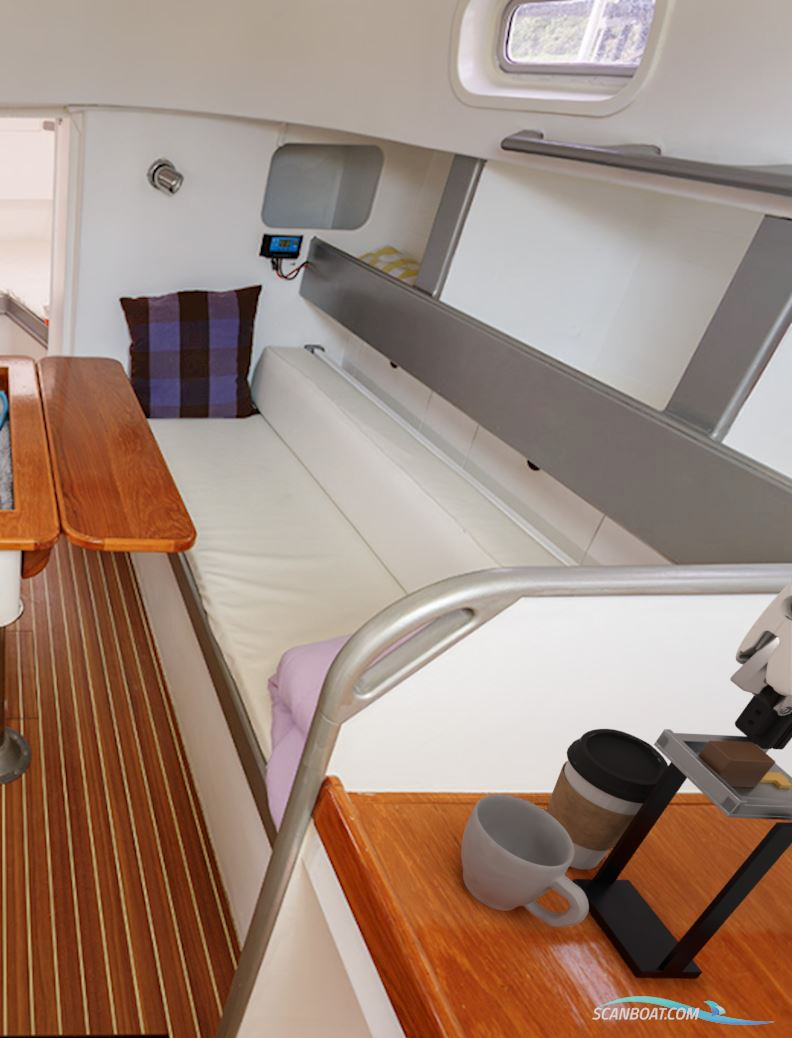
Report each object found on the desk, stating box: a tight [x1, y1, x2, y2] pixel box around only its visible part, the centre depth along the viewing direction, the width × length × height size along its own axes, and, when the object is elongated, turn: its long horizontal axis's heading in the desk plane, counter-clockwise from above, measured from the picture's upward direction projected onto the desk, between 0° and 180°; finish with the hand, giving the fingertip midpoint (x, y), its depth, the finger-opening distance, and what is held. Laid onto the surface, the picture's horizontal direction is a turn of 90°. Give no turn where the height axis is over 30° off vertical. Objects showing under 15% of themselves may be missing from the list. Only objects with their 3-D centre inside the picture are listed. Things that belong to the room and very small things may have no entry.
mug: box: [460, 793, 589, 928], centre depth 75 cm, size 12×9×10 cm
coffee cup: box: [545, 728, 669, 871], centre depth 80 cm, size 8×8×15 cm
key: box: [698, 741, 792, 788], centre depth 63 cm, size 8×2×3 cm, turn 90°
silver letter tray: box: [653, 728, 792, 821], centre depth 64 cm, size 10×8×2 cm
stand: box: [571, 761, 792, 980], centre depth 69 cm, size 6×10×22 cm, turn 0°
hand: (757, 737), depth 66 cm, fingers closed
